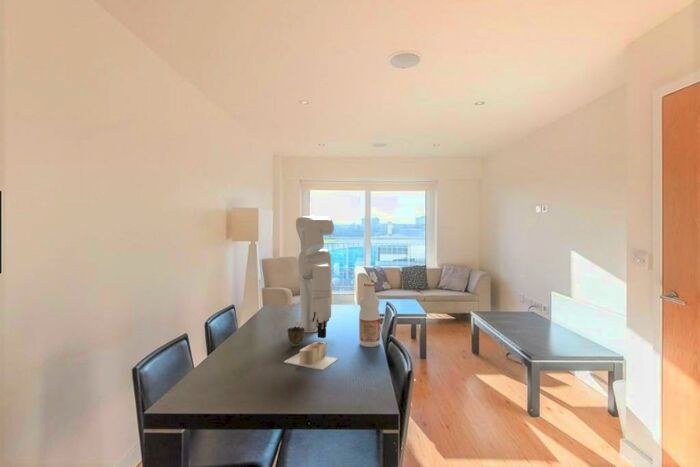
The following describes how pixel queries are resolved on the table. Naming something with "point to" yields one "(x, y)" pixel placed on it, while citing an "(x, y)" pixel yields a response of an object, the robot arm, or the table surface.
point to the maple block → (312, 352)
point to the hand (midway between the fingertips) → (321, 337)
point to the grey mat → (319, 364)
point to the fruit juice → (369, 317)
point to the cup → (295, 335)
